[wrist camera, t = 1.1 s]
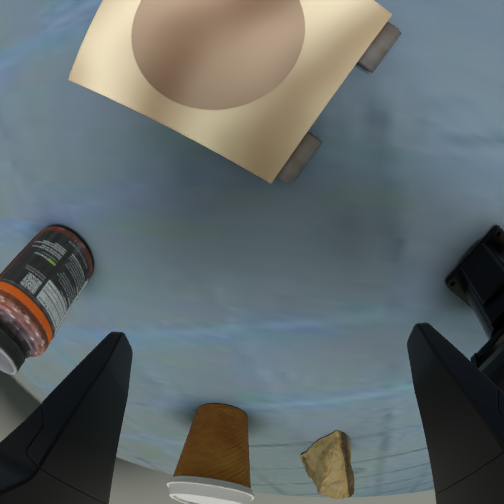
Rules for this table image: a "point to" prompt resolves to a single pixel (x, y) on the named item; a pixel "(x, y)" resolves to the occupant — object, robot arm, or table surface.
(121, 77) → the board
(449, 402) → the robot arm
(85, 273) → the supplement bottle
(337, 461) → the rock
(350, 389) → the table surface
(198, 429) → the disposable coffee cup
